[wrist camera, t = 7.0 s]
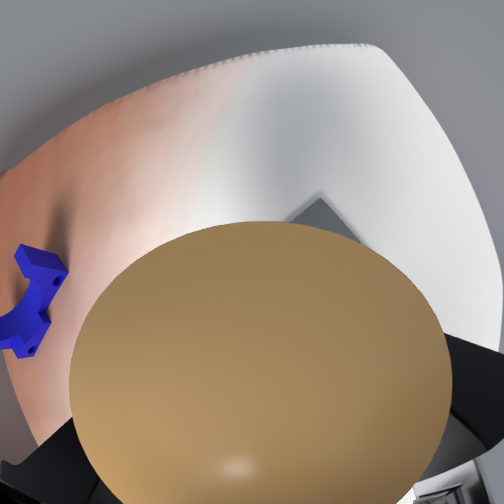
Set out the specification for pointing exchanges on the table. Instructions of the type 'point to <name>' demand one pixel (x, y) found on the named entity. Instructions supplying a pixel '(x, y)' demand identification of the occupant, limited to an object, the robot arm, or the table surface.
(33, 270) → the cable clip
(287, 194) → the table surface
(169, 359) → the plug
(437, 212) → the table surface
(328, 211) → the mat
